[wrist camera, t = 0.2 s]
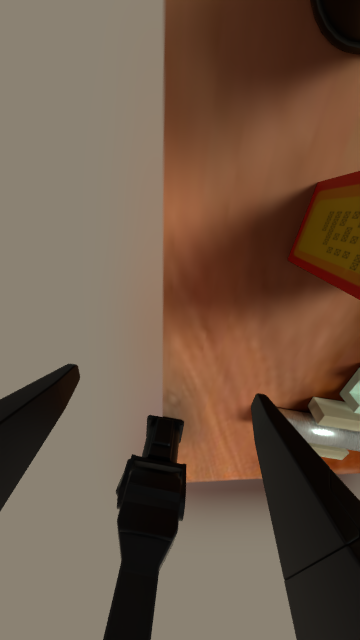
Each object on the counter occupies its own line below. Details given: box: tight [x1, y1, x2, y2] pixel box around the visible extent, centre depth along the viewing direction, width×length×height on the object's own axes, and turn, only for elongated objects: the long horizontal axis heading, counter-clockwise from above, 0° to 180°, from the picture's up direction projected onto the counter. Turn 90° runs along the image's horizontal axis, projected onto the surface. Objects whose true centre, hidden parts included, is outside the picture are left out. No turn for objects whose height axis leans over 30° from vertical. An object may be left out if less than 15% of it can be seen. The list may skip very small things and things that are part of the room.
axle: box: [278, 408, 360, 451], centre depth 29 cm, size 14×4×4 cm, turn 83°
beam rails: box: [308, 397, 360, 460], centre depth 29 cm, size 9×7×3 cm
